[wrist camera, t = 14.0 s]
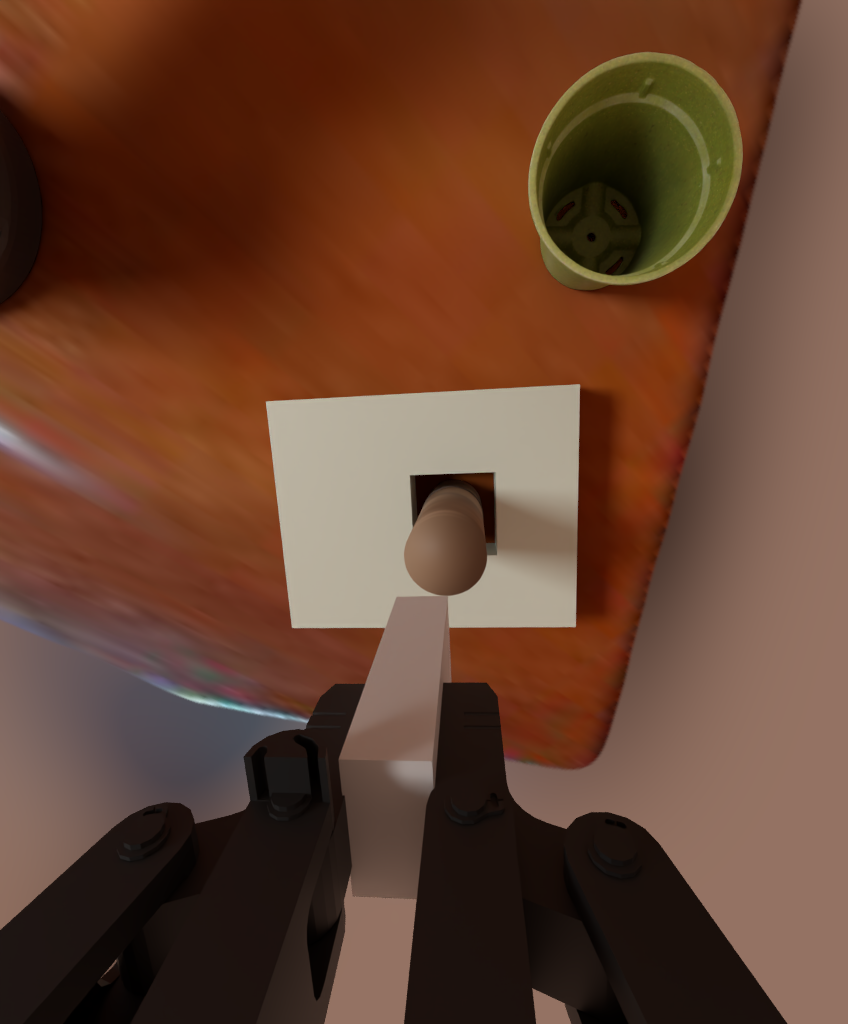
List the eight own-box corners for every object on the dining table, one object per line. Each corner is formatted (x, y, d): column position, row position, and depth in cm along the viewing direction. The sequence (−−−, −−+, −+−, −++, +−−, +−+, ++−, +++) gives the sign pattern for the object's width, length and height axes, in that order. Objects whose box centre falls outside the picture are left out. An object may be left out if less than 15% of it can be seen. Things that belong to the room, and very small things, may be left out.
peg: (427, 534, 35) (405, 597, 24) (424, 479, 34) (400, 516, 23) (482, 533, 35) (489, 596, 23) (481, 477, 34) (487, 513, 22)
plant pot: (482, 246, 31) (486, 185, 22) (592, 118, 29) (643, -3, 20) (583, 349, 32) (625, 327, 23) (698, 231, 29) (790, 160, 21)
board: (306, 610, 37) (292, 627, 35) (283, 402, 34) (266, 401, 31) (567, 609, 35) (575, 627, 32) (570, 386, 32) (580, 384, 29)
